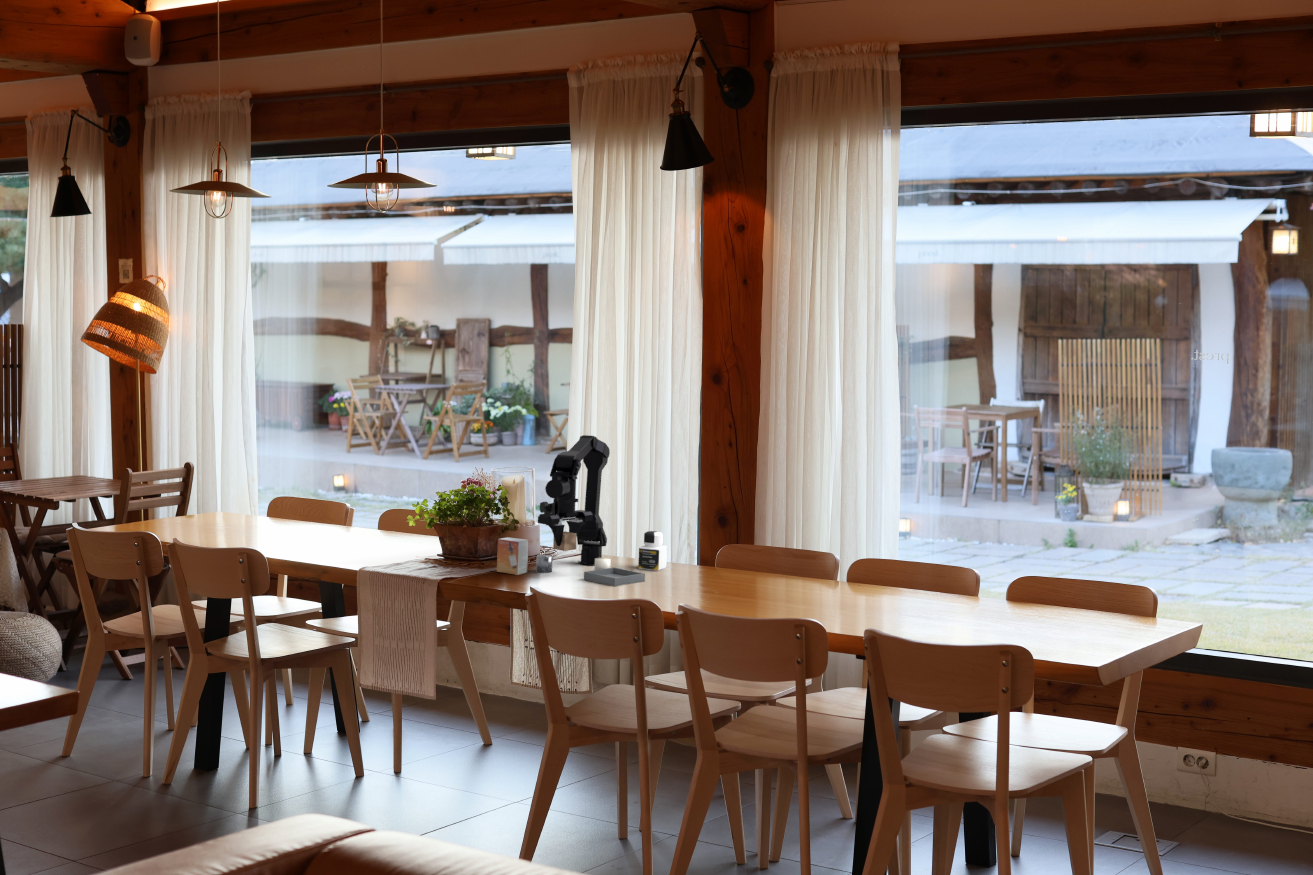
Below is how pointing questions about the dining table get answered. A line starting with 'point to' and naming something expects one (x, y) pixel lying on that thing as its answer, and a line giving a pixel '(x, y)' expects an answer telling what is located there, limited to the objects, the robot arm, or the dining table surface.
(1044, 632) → the dining table surface
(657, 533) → the medicine bottle
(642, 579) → the gray tray
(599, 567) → the ivory round canister
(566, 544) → the walnut block
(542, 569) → the slate cylinder
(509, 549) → the small box
